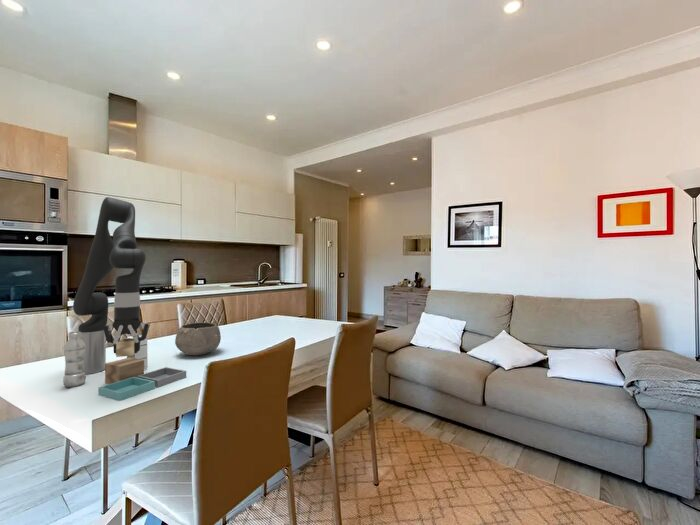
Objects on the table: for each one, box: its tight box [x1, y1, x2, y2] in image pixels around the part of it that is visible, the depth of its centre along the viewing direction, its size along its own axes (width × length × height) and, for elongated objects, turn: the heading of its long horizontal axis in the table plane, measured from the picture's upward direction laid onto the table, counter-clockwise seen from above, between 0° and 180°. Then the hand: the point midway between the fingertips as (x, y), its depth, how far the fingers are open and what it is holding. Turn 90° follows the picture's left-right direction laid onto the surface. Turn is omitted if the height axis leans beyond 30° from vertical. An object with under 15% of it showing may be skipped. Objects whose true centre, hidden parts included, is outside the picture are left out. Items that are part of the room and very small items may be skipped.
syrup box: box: [126, 334, 149, 370], centre depth 142 cm, size 6×6×14 cm
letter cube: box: [115, 338, 136, 358], centre depth 116 cm, size 5×5×5 cm
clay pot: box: [174, 322, 222, 356], centre depth 167 cm, size 21×21×15 cm
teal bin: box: [97, 377, 156, 402], centre depth 116 cm, size 12×12×3 cm
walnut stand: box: [104, 357, 145, 385], centre depth 126 cm, size 9×9×8 cm
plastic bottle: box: [62, 331, 86, 388], centre depth 123 cm, size 6×7×20 cm
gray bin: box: [137, 366, 187, 388], centre depth 127 cm, size 12×12×3 cm
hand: (126, 353), depth 116 cm, fingers closed on letter cube, 5 cm apart
